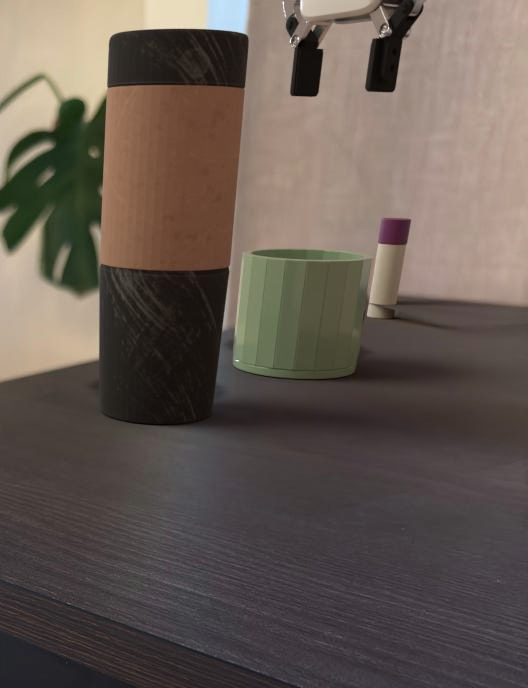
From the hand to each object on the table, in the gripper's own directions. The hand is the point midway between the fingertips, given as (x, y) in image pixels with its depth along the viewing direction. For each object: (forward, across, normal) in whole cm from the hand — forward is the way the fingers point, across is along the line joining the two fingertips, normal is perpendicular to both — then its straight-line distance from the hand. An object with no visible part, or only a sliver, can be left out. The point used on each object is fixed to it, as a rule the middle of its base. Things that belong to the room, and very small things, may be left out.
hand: (340, 94), depth 89 cm
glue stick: (+20, -6, -4) cm, 21 cm away
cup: (+19, -21, +21) cm, 35 cm away
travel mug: (+20, -27, +39) cm, 51 cm away
